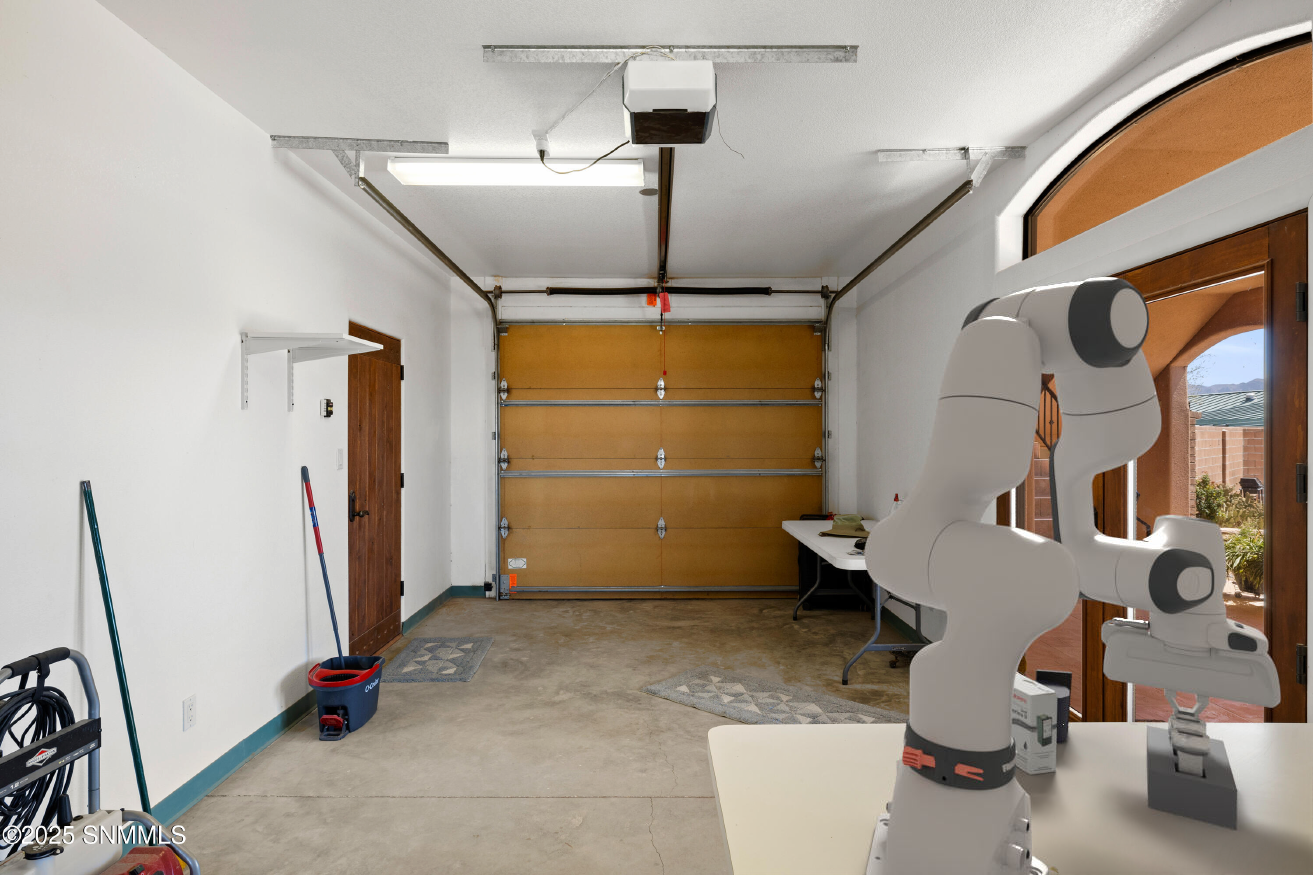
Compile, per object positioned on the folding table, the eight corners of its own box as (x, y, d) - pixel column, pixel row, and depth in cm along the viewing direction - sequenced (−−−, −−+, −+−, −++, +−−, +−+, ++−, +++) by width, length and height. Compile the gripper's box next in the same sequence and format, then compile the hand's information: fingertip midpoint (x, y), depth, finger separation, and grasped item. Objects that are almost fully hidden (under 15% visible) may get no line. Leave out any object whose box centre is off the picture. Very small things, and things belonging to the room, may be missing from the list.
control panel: (1236, 829, 85) (1237, 790, 85) (1148, 806, 91) (1148, 769, 91) (1222, 775, 99) (1223, 740, 99) (1146, 757, 105) (1146, 725, 105)
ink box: (987, 749, 107) (988, 673, 107) (1013, 745, 108) (1014, 671, 108) (1030, 775, 99) (1030, 694, 99) (1058, 771, 100) (1059, 691, 100)
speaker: (1029, 720, 117) (1032, 662, 116) (1068, 730, 114) (1072, 671, 113) (1024, 741, 111) (1028, 680, 110) (1065, 752, 108) (1070, 689, 107)
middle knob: (1207, 765, 92) (1207, 727, 92) (1170, 757, 94) (1170, 720, 94) (1204, 754, 95) (1205, 717, 95) (1168, 746, 98) (1169, 711, 98)
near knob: (1210, 782, 88) (1211, 742, 88) (1171, 773, 90) (1172, 734, 90) (1208, 769, 91) (1208, 731, 91) (1170, 761, 93) (1170, 724, 93)
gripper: (1100, 620, 103) (1099, 711, 103) (1283, 644, 91) (1282, 748, 91) (1102, 611, 108) (1101, 698, 108) (1275, 633, 96) (1274, 731, 96)
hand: (1185, 721), depth 100 cm, fingers closed
